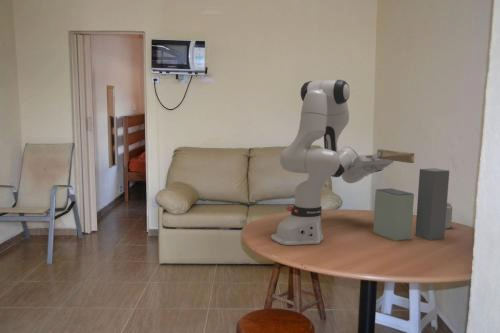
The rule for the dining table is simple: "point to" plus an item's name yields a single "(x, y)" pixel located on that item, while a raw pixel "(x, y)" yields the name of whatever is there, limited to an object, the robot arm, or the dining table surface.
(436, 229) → the pedestal
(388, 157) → the bar
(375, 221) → the grey block
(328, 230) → the dining table surface
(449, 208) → the can
